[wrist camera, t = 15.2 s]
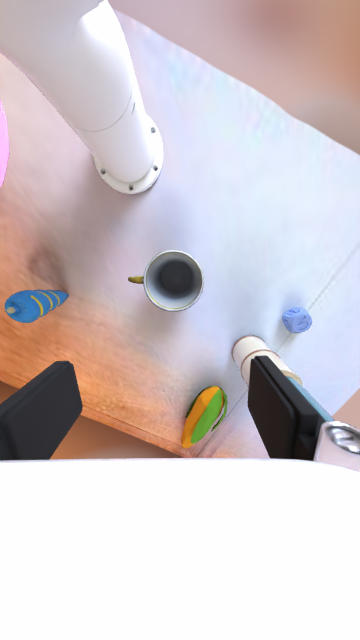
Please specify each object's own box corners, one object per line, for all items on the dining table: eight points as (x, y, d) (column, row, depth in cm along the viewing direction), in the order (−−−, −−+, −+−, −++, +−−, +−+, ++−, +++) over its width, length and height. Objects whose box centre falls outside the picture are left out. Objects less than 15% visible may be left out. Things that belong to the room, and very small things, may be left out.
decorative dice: (297, 306, 42) (309, 310, 39) (303, 321, 43) (314, 327, 40) (280, 313, 43) (289, 318, 39) (285, 329, 44) (295, 335, 40)
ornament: (80, 305, 43) (29, 327, 29) (58, 307, 44) (-4, 329, 29) (75, 282, 42) (18, 293, 28) (52, 284, 42) (-17, 296, 28)
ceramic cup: (201, 254, 40) (206, 251, 30) (197, 301, 43) (201, 313, 33) (138, 250, 40) (123, 247, 30) (139, 298, 43) (125, 309, 33)
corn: (239, 407, 41) (197, 468, 47) (232, 386, 48) (197, 441, 54) (207, 393, 41) (169, 456, 46) (206, 374, 48) (173, 430, 54)
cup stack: (232, 335, 45) (255, 372, 30) (268, 334, 44) (309, 370, 30) (231, 367, 47) (252, 415, 32) (264, 366, 47) (302, 414, 32)
